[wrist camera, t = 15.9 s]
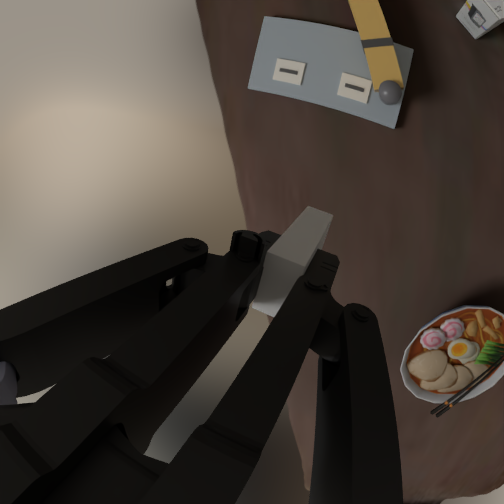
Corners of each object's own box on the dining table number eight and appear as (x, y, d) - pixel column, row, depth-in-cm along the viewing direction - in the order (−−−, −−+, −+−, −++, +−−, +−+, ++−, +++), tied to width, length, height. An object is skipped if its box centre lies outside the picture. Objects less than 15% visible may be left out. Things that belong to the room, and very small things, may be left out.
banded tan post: (405, 104, 34) (408, 101, 30) (376, 106, 35) (376, 104, 32) (365, -26, 26) (362, -39, 22) (338, -22, 28) (333, -36, 24)
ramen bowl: (462, 253, 40) (474, 276, 33) (529, 319, 37) (542, 345, 30) (373, 348, 53) (369, 377, 46) (445, 394, 50) (446, 422, 43)
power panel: (412, 51, 31) (413, 48, 30) (393, 129, 37) (394, 129, 36) (267, 19, 37) (263, 15, 35) (251, 89, 43) (246, 88, 42)
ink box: (484, -2, 20) (506, -30, 11) (505, 23, 21) (533, 1, 11) (453, 16, 25) (471, -13, 15) (475, 42, 26) (500, 20, 16)
